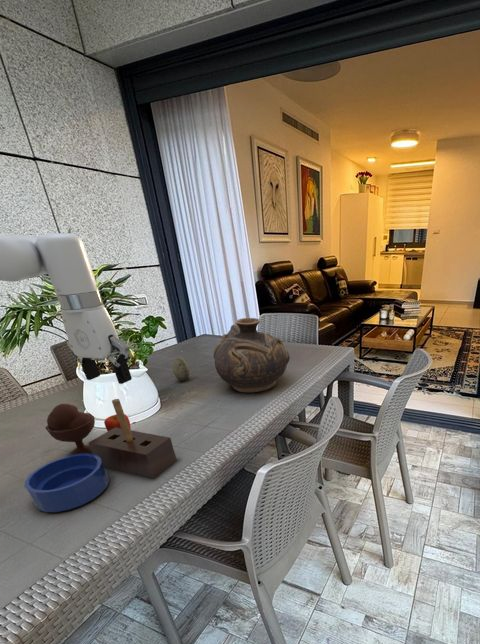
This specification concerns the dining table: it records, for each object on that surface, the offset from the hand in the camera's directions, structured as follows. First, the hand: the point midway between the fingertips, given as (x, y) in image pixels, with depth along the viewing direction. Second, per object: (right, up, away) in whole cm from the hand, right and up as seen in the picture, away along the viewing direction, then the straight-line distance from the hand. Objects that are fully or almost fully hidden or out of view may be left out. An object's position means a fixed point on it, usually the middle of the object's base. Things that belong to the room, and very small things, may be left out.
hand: (109, 379), depth 80 cm
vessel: (+23, +5, +56) cm, 61 cm away
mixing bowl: (-9, -26, +1) cm, 28 cm away
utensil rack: (+1, -20, +11) cm, 23 cm away
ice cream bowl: (-17, -18, +17) cm, 30 cm away
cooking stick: (+1, -20, +11) cm, 23 cm away
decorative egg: (-7, +8, +63) cm, 64 cm away
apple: (-10, -15, +23) cm, 29 cm away
